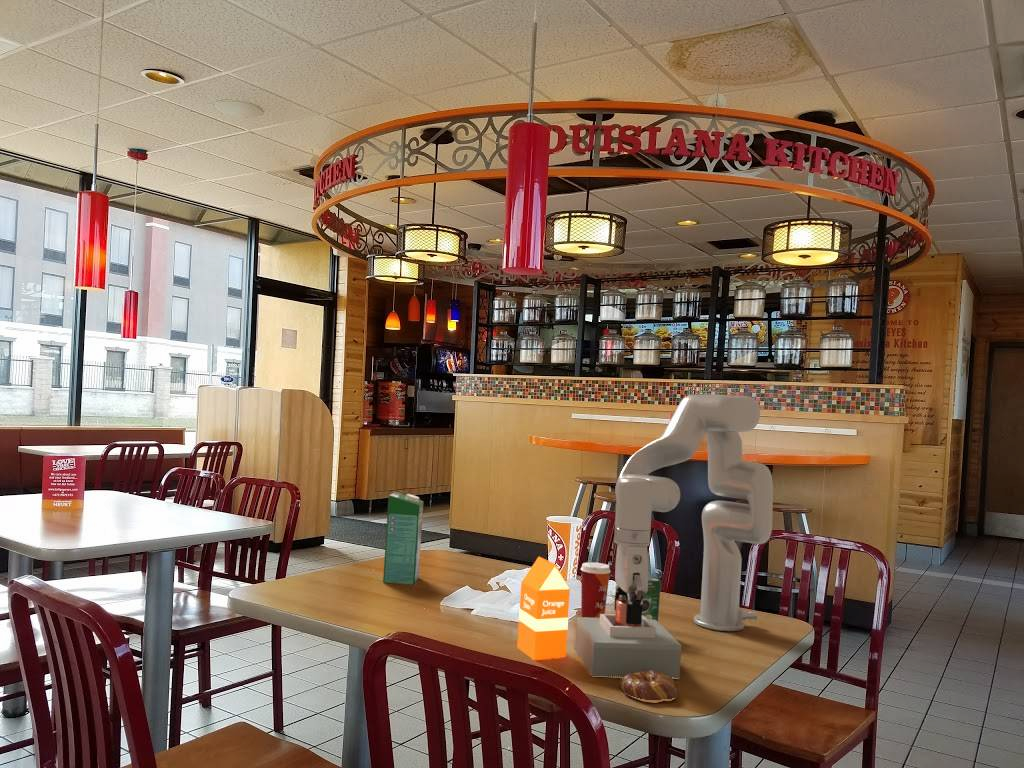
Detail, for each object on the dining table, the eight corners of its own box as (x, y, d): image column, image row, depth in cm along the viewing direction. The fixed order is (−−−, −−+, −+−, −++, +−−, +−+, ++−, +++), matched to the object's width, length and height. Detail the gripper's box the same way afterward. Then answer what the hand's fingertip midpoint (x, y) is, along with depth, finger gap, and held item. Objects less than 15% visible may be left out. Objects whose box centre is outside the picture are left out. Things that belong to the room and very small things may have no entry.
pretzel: (625, 680, 159) (626, 661, 159) (680, 689, 156) (681, 670, 156) (614, 699, 147) (615, 679, 147) (674, 710, 144) (675, 689, 144)
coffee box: (650, 630, 194) (653, 576, 194) (658, 633, 192) (661, 579, 192) (625, 633, 190) (628, 579, 190) (633, 637, 187) (636, 581, 187)
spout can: (633, 645, 171) (636, 593, 171) (640, 652, 166) (643, 599, 166) (611, 644, 170) (613, 592, 170) (617, 652, 165) (620, 598, 165)
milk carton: (414, 584, 225) (420, 496, 226) (382, 582, 225) (388, 494, 226) (418, 577, 234) (424, 493, 235) (388, 575, 234) (393, 491, 235)
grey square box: (653, 650, 178) (655, 610, 178) (679, 679, 160) (682, 635, 160) (574, 648, 176) (577, 608, 176) (591, 677, 158) (594, 632, 158)
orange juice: (533, 660, 166) (539, 564, 166) (516, 647, 174) (522, 556, 175) (566, 657, 169) (572, 563, 170) (548, 644, 177) (553, 555, 178)
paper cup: (606, 626, 195) (610, 569, 195) (575, 622, 196) (579, 566, 197) (609, 618, 202) (612, 563, 203) (579, 614, 204) (582, 560, 204)
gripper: (661, 544, 160) (656, 629, 160) (638, 530, 177) (633, 606, 177) (625, 543, 159) (620, 628, 159) (605, 528, 176) (600, 605, 176)
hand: (627, 617), depth 168 cm, fingers open, 9 cm apart
